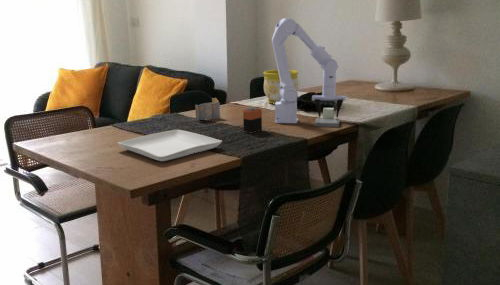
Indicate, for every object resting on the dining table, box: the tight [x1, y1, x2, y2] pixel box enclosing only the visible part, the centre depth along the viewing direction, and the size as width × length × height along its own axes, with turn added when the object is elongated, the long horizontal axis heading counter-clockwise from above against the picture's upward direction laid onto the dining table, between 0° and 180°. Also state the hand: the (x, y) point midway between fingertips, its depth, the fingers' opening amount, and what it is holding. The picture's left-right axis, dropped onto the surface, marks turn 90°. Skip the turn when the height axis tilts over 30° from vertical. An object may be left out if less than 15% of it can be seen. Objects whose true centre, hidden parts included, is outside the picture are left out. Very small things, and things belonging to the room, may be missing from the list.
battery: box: [242, 106, 263, 132], centre depth 206 cm, size 4×7×10 cm, turn 136°
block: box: [322, 107, 335, 118], centre depth 226 cm, size 4×4×5 cm
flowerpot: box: [262, 69, 299, 105], centre depth 267 cm, size 18×18×16 cm
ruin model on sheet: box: [194, 97, 221, 121], centre depth 231 cm, size 11×3×10 cm, turn 126°
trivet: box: [314, 117, 341, 128], centre depth 217 cm, size 10×10×2 cm
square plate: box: [117, 129, 223, 162], centre depth 182 cm, size 27×27×4 cm
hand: (328, 116), depth 226 cm, fingers open, 7 cm apart
